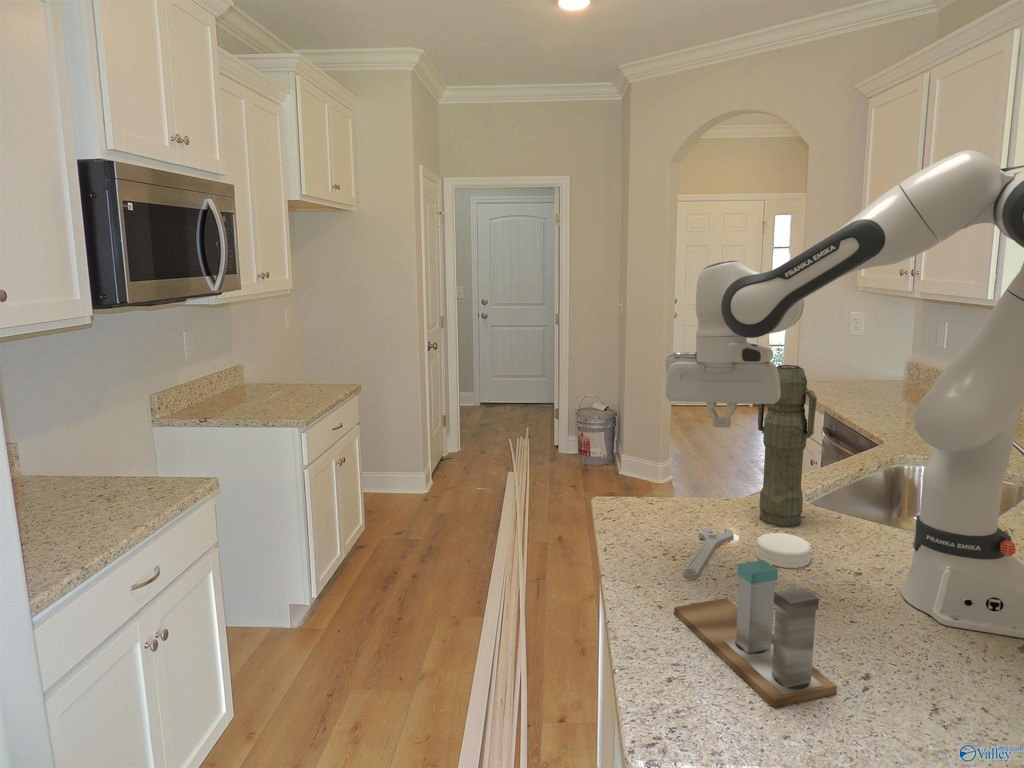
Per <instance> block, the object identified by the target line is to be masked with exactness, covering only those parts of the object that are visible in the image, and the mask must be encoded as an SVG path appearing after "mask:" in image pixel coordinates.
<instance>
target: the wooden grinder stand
mask: <svg viewBox="0 0 1024 768" xmlns="http://www.w3.org/2000/svg"><path fill="white" fill-rule="evenodd" d="M819 601H820V598H819V597H818V596H816V595H815V594H813V593H812V592H810V591H808V589H806V588H804V587H803V586H800V587H794V588H793V587H792V588H788V589H781V590H777V591H775V592H774V605H775V614H774V628H773V630H774V632H773V634H772V646H771V649H769V650H764V651H759V652H754V653H747V652H746V651H744V650H743V649H742V648H741V647H740V646H739V645H738V644H736V630H737V609H738V605H737V604H736V605H735V603H733V602H732V601H730V600H729V598H727V597H725V598H721V599H720V598H719V599H715V600H708V601H702V602H697V603H690V604H684V605H678V606H674V607H673V614H674V616H676V617H677V618H678V619H679V620H680V621H681V622H682V623H683V624H684V625H685V626H686V627H687V628H688V629H690V631H692V633H694V634H695V635H696V636H697V637H698V638H699V640H701V641H702V640H703V641H704V642H705V643H706V644H707V645H708V646H709V647H708V646H707V645H706V644H705V643H704V642H703V641H702V642H703V643H704V644H705V645H706V646H707V647H708V648H709V649H711V650H712V651H713V652H714V653H715V652H716V653H717V654H716V653H715V654H716V656H718V657H719V658H720V659H721V660H722V662H724V663H725V664H726V663H727V664H728V665H727V664H726V665H727V666H728V667H729V668H731V669H732V671H734V672H735V673H736V674H737V675H738V676H739V677H740V678H741V679H742V680H743V681H744V682H745V683H746V684H747V685H748V686H749V687H751V688H752V689H753V690H754V691H755V692H756V693H757V694H758V695H759V696H760V697H761V698H762V699H763V700H764V701H765V702H766V703H767V704H768V705H770V706H771V707H772V708H773V709H775V708H781V707H784V706H791V705H793V704H798V703H799V704H800V703H803V702H806V701H807V702H808V701H810V700H816V699H821V698H824V697H828V696H829V697H830V696H834V695H837V689H838V686H837V685H836V684H835V683H834V682H832V681H831V680H830V679H829V678H827V677H826V675H824V674H822V673H821V671H819V670H818V669H817V668H815V667H814V666H813V658H814V657H813V655H814V644H815V643H814V641H815V640H814V639H815V626H816V614H817V612H816V611H817V610H819Z"/></svg>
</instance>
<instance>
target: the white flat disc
mask: <svg viewBox="0 0 1024 768" xmlns="http://www.w3.org/2000/svg"><path fill="white" fill-rule="evenodd" d="M755 548H756V551H755V553H756V557H757V558H758V559H759V561H760V560H764V561H766V562H767V563H769V564H771V565H772V566H773V565H775V566H774V567H776V566H779V567H778V568H782V567H785V568H784V569H799V568H798V567H800V568H803V566H804V567H806V566H808V565H809V564H810V562H811V555H812V554H811V553H812V547H811V544H810V543H809V542H808V541H807V540H806V539H804V538H801V537H800V536H797V535H793V534H789V533H785V532H784V533H779V532H770V533H765V534H762V535H760V536H758V538H757V539H756V547H755Z"/></svg>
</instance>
